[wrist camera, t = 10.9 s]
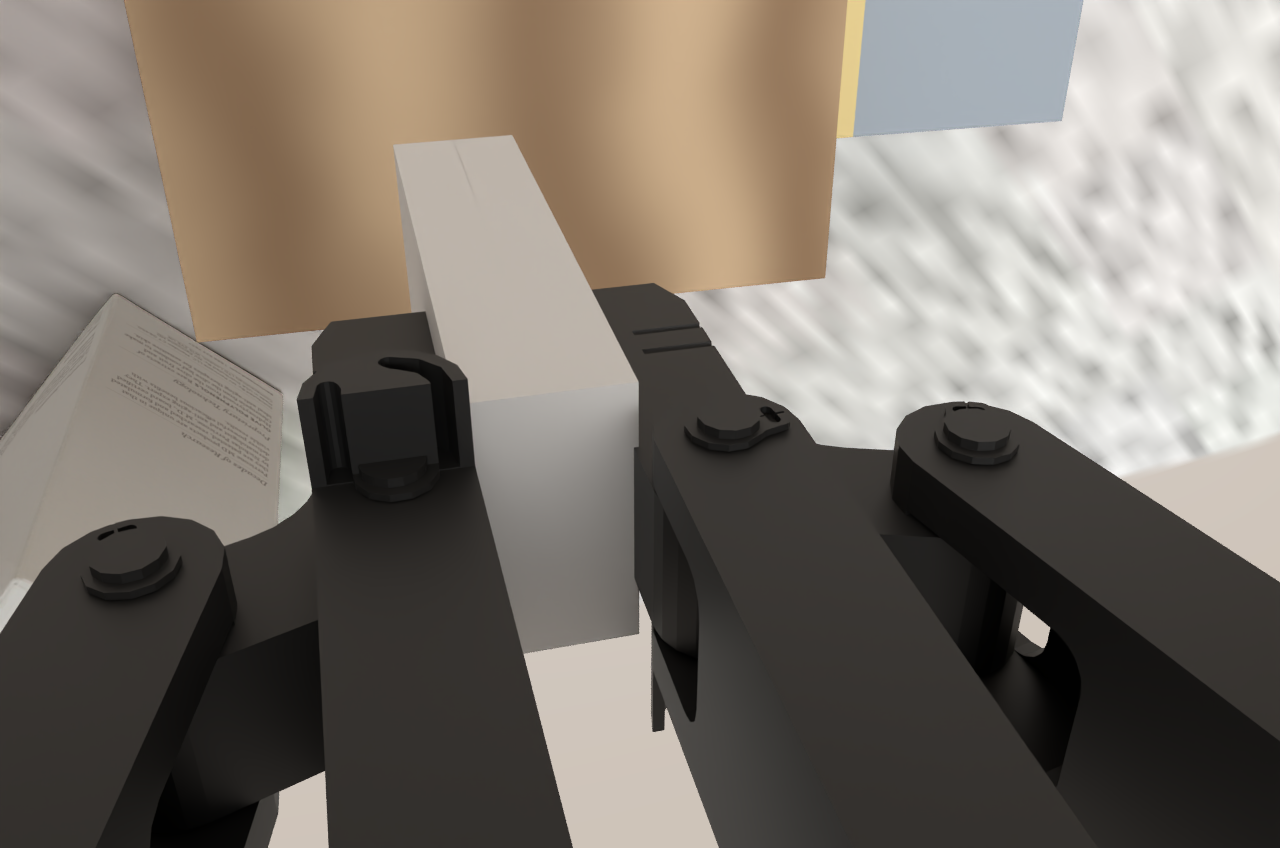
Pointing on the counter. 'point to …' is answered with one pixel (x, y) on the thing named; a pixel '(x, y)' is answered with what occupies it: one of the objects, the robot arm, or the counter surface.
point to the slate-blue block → (954, 64)
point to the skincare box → (135, 444)
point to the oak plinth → (486, 107)
